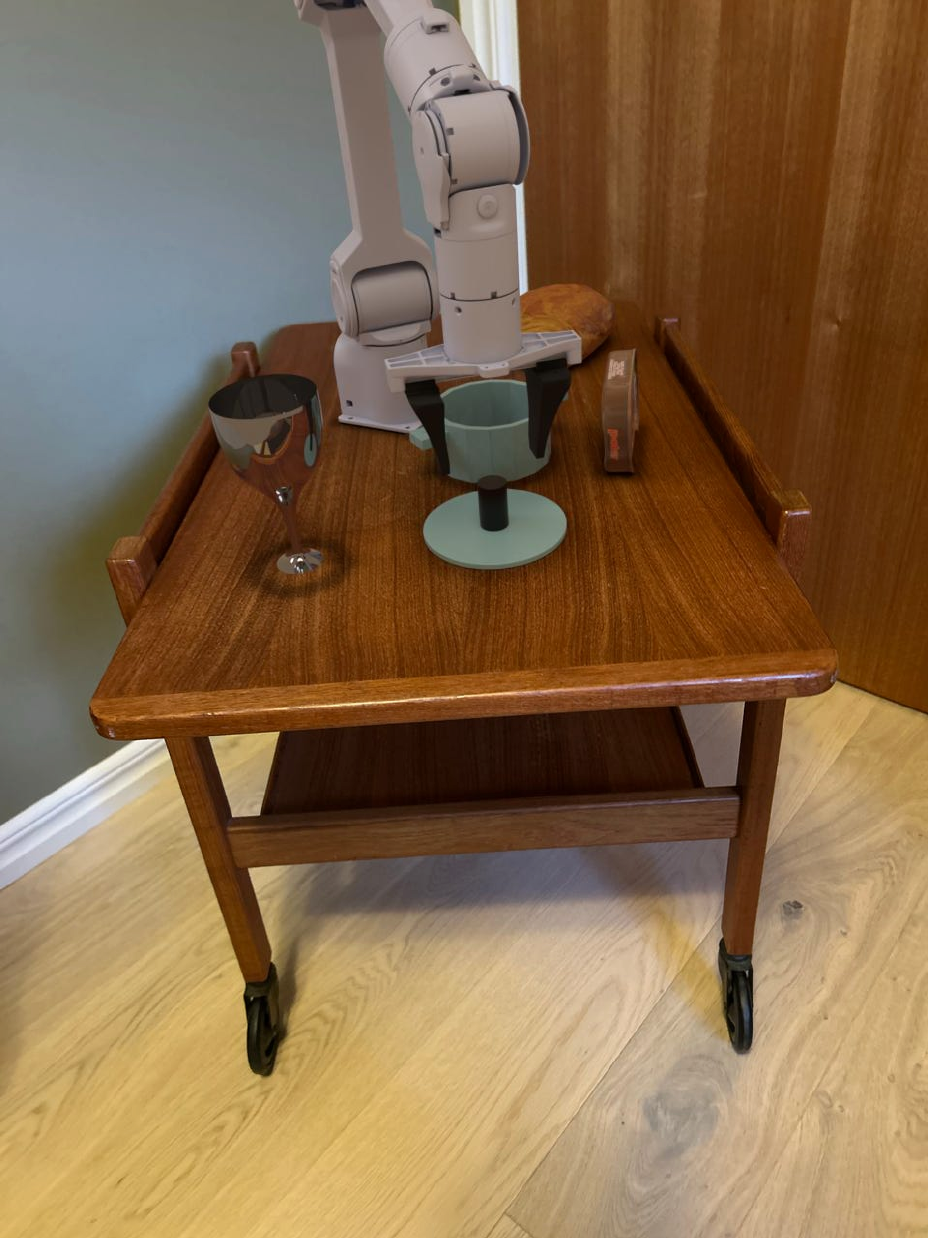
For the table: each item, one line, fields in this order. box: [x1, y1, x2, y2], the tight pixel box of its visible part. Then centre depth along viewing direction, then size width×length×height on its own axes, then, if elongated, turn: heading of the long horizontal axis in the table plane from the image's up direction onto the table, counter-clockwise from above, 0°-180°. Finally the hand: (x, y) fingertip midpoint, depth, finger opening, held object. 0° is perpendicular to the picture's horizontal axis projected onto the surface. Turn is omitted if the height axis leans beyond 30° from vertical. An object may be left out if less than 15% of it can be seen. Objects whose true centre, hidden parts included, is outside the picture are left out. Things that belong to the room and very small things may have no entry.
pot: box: [408, 378, 569, 484], centre depth 86 cm, size 11×16×6 cm
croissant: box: [520, 283, 617, 369], centre depth 107 cm, size 14×16×8 cm
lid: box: [422, 475, 568, 570], centre depth 75 cm, size 12×12×5 cm
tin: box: [600, 348, 640, 474], centre depth 85 cm, size 15×3×8 cm, turn 168°
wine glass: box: [207, 373, 324, 575], centre depth 71 cm, size 8×8×15 cm
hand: (490, 461), depth 72 cm, fingers open, 7 cm apart
